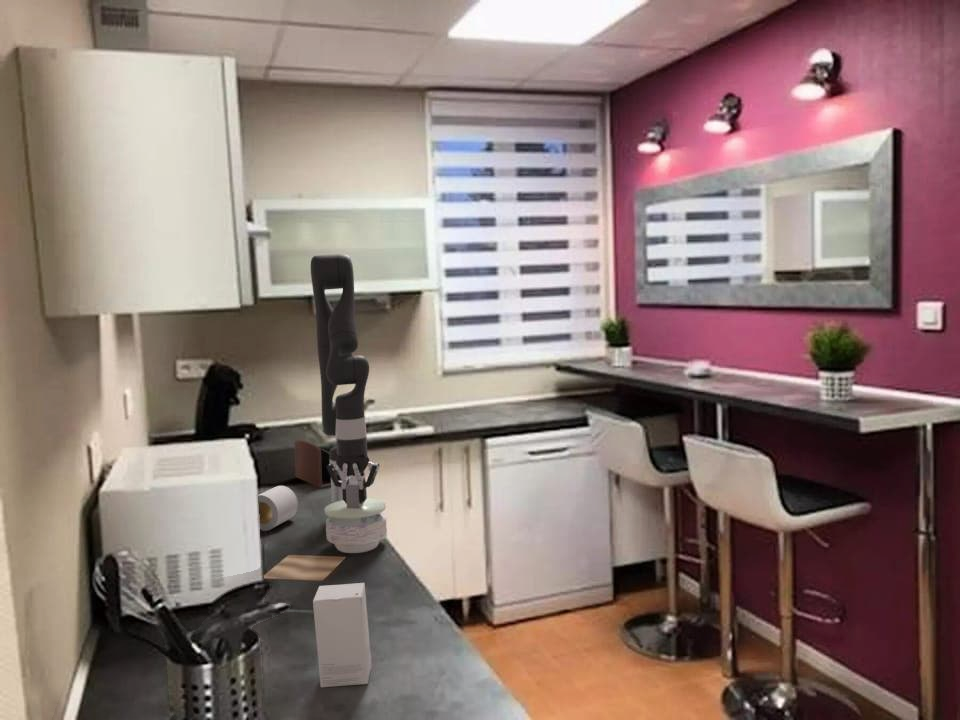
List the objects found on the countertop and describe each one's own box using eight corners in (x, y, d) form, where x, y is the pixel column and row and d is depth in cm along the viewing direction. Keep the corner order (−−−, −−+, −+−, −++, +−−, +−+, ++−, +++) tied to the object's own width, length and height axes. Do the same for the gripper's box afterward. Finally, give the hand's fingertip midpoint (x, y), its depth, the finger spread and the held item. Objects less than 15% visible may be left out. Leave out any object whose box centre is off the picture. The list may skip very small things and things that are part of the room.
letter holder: (320, 488, 259) (318, 446, 258) (295, 477, 275) (292, 438, 273) (347, 483, 265) (345, 442, 263) (321, 472, 281) (319, 433, 279)
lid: (337, 500, 208) (336, 475, 207) (393, 501, 205) (391, 476, 204) (315, 518, 193) (313, 490, 192) (374, 519, 190) (372, 491, 189)
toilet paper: (279, 532, 215) (276, 496, 214) (248, 529, 218) (245, 494, 217) (299, 520, 225) (296, 486, 223) (268, 518, 228) (266, 484, 227)
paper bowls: (393, 537, 207) (391, 508, 206) (380, 558, 192) (378, 527, 191) (336, 538, 208) (334, 508, 207) (319, 558, 193) (317, 527, 192)
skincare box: (372, 667, 138) (367, 581, 136) (368, 686, 131) (363, 596, 130) (324, 669, 138) (318, 583, 136) (317, 689, 131) (312, 599, 129)
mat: (288, 556, 195) (288, 554, 195) (346, 558, 192) (346, 556, 192) (260, 580, 180) (260, 577, 180) (322, 582, 177) (322, 580, 177)
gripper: (382, 432, 199) (386, 499, 201) (330, 432, 202) (334, 498, 204) (373, 438, 192) (376, 507, 194) (318, 438, 195) (322, 506, 196)
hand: (354, 502), depth 199 cm, fingers closed on lid, 3 cm apart
